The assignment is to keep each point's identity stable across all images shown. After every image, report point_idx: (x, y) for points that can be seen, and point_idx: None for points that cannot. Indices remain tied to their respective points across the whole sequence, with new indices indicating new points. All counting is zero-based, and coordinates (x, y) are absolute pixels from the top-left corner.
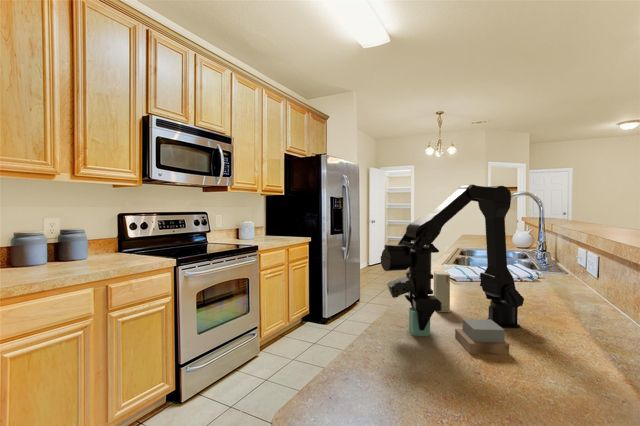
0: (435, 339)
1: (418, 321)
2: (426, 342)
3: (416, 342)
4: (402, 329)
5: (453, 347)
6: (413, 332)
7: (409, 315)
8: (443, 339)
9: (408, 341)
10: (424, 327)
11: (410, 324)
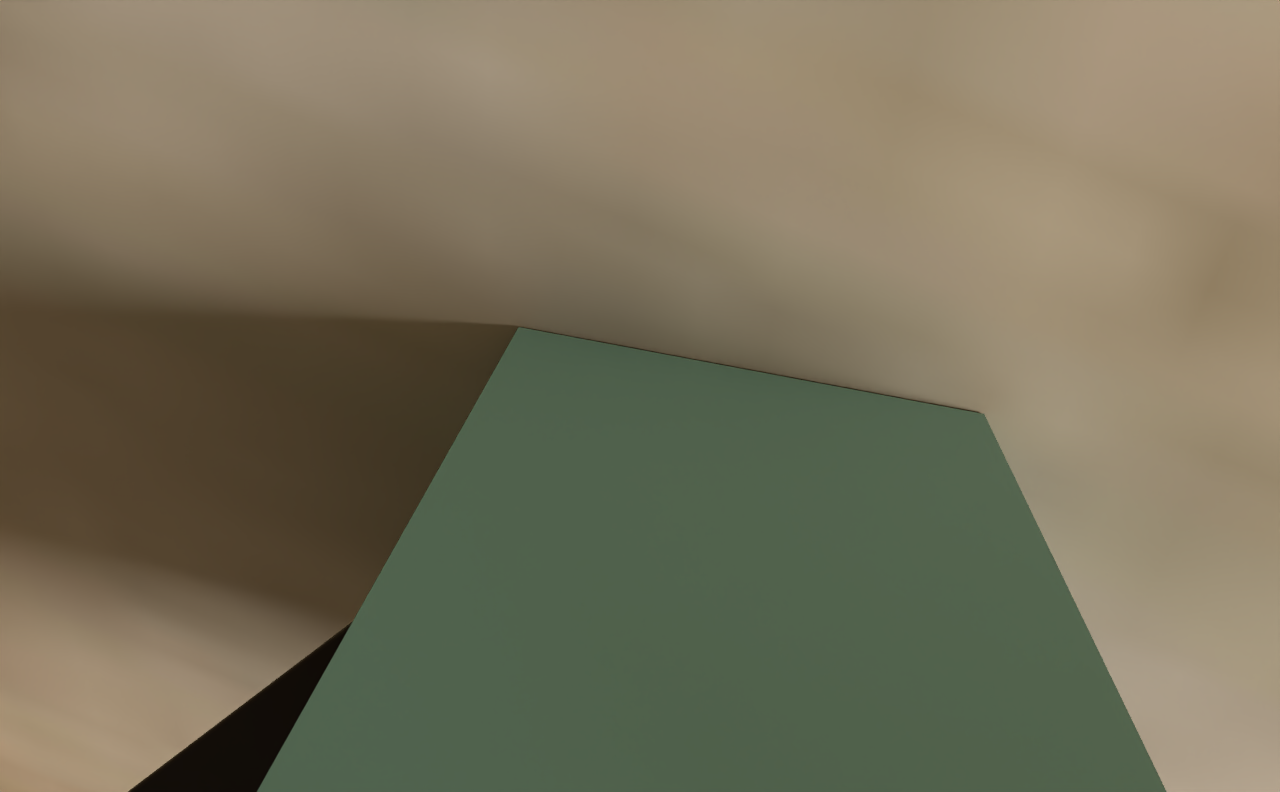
0: None
1: (220, 760)
2: (140, 456)
3: (89, 242)
4: (1026, 220)
5: (26, 746)
6: (488, 383)
7: (1093, 767)
8: None
9: (108, 46)
10: None
11: (819, 501)
